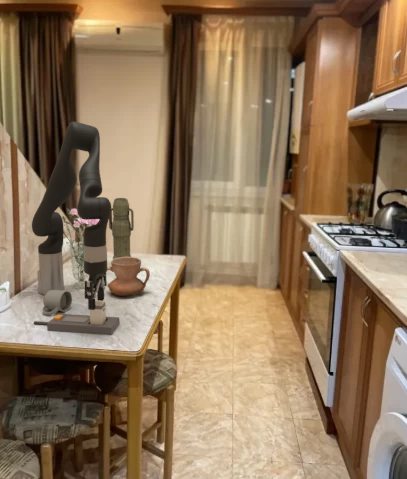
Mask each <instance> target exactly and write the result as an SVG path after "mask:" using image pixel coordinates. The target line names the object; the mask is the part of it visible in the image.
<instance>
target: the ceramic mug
mask: <svg viewBox="0 0 407 479" xmlns="http://www.w3.org/2000/svg"><path fill="white" fill-rule="evenodd" d="M72 304H73V296H72V293H71V291H69V290H64V291H61V290H50V291H48V292H47V293H46V294H45V295H43V307H42V309H41V311H42V314H43V315H45V316H46V317H47V316H54V315H55V314H57V313H58V312H64V313H65V312H67V311H69V310H70V308H71V307H72ZM47 309H48V310H51V311H49V312H46V310H47Z"/></svg>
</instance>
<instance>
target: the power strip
mask: <svg viewBox="0 0 407 479" xmlns="http://www.w3.org/2000/svg"><path fill="white" fill-rule="evenodd" d="M120 322H121V320H120V317H119V316H117V317H116V316H106V323H105V324H104V325H95V324H90V314H87V315H86V314H70V313H56V315H55V316H54V317H52V318H51V320H49V321H40V320H37V321H36V320H34V321H33V324H34V325H40V326H41V325H43V326H45V325H46V326H47V327H46V330H47V331H49V332H64V333H77V334H79V333H80V334H90V335H91V334H94V335H95V334H96V335H107V336H108V335H110V336H112V335H113V334H114V332H115V331H116V330H117V328H118V327H119V325H120Z"/></svg>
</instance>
